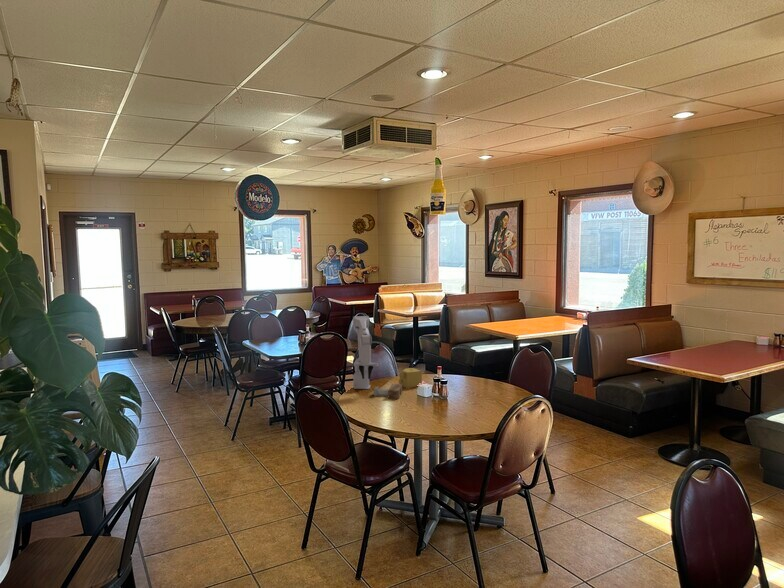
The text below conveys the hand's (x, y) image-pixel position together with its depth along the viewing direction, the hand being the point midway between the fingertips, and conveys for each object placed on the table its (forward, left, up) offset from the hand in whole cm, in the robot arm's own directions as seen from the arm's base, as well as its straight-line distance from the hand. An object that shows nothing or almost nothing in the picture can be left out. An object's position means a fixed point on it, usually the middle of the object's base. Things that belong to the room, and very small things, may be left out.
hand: (366, 378), depth 315 cm
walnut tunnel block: (+17, 0, -9) cm, 19 cm away
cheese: (+23, +23, -10) cm, 34 cm away
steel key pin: (+12, 0, -10) cm, 15 cm away
